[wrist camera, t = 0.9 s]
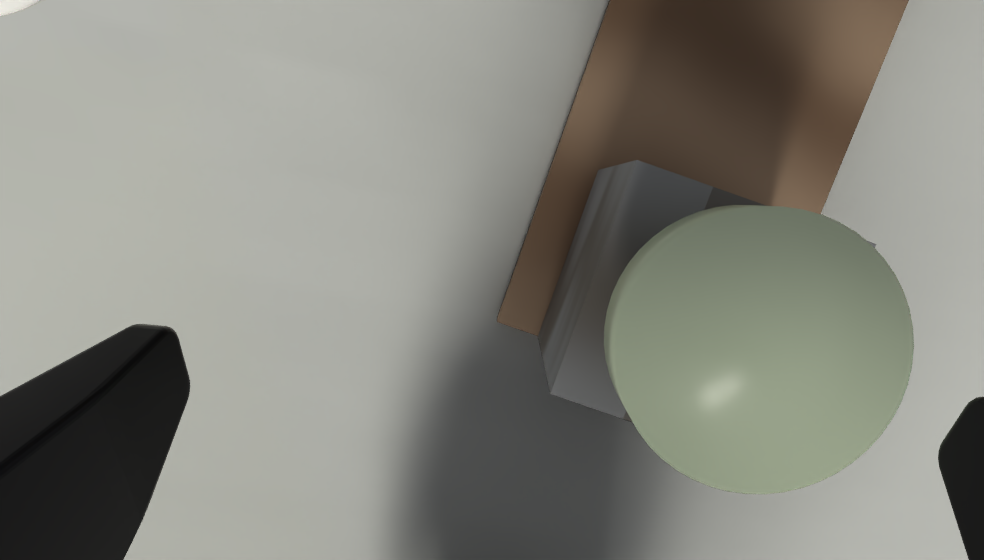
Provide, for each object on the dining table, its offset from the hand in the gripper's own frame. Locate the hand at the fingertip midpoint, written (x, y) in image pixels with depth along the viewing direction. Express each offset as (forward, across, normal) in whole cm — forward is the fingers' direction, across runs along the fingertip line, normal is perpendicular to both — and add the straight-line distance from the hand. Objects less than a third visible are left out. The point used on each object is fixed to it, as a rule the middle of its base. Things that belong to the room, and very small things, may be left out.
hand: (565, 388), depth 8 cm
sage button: (+9, -4, +5) cm, 11 cm away
